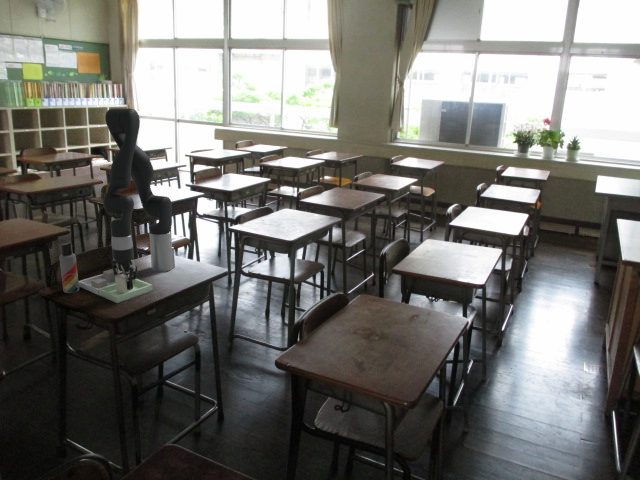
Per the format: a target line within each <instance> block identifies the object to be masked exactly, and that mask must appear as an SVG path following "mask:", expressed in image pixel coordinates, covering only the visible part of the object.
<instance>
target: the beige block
mask: <svg viewBox="0 0 640 480" xmlns="http://www.w3.org/2000/svg"><path fill="white" fill-rule="evenodd" d="M128 277H129V275H128ZM115 284H116V291H118V292H122V293H126V292H129V291H131V290H133V289H131V290H128V289H127V280H126V277H125V276H124V274H120V275H118V276H115Z"/></svg>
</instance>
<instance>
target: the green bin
mask: <svg viewBox="0 0 640 480" xmlns="http://www.w3.org/2000/svg"><path fill="white" fill-rule="evenodd" d="M98 291H99V295H98V296H99V297H102V298H104V299H106V300H109V301H111V302H113V303H115V304H119V303H122V302H126V301H129V300H132V299H134V298H137V297H140V296H142V295H145V294H147V293H152V292H153V291H154V287H153V284H151V283H149V282H146V281H143V280H141V279H139V278H136V279H135V280H133V290H131V291H129V292H126V293H122V292H118V291H116V284H113V285H110V286H107V287H104V288H101V289H98Z"/></svg>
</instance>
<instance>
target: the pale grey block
mask: <svg viewBox="0 0 640 480" xmlns="http://www.w3.org/2000/svg"><path fill="white" fill-rule="evenodd" d="M91 284H92V286H94V287H96V288H98V289H99V288H102V287H105V286H107V280H105V279H102V278H98V279H95V280H92V281H91Z"/></svg>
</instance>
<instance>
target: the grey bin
mask: <svg viewBox="0 0 640 480" xmlns="http://www.w3.org/2000/svg"><path fill="white" fill-rule="evenodd" d="M98 278H102V279H104V275H103V273H102V274H98V275H94V276H91V277H88V278H84V279H81V280H78V281H79V288H82V289H84V290H86V291H88V292H91V293H93V294H95V295H97V296H99V291H98V288H96V287H94V286H92V284H91V281H92V280H95V279H98ZM113 284H115V281H114V282H111V283H109V282H107V286H110V285H113ZM107 286H105V287H107ZM102 288H104V287H102ZM99 289H101V288H99Z"/></svg>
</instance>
